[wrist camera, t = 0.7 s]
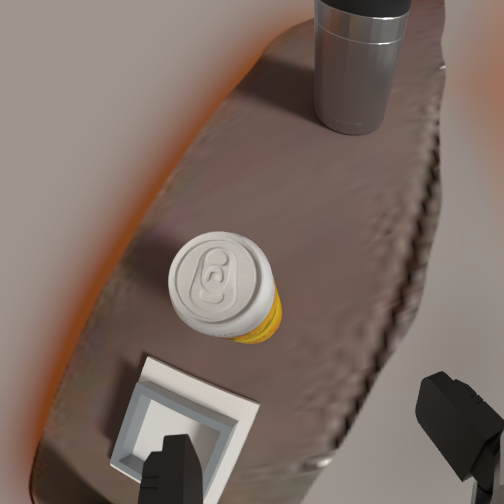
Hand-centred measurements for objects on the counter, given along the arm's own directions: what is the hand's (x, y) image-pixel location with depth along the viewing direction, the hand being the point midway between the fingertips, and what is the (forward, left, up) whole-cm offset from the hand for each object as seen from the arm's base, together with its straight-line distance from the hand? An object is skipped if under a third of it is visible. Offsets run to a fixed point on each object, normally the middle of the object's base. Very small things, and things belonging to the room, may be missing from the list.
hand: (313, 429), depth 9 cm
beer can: (-4, -7, -21) cm, 23 cm away
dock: (+11, -9, -21) cm, 25 cm away
